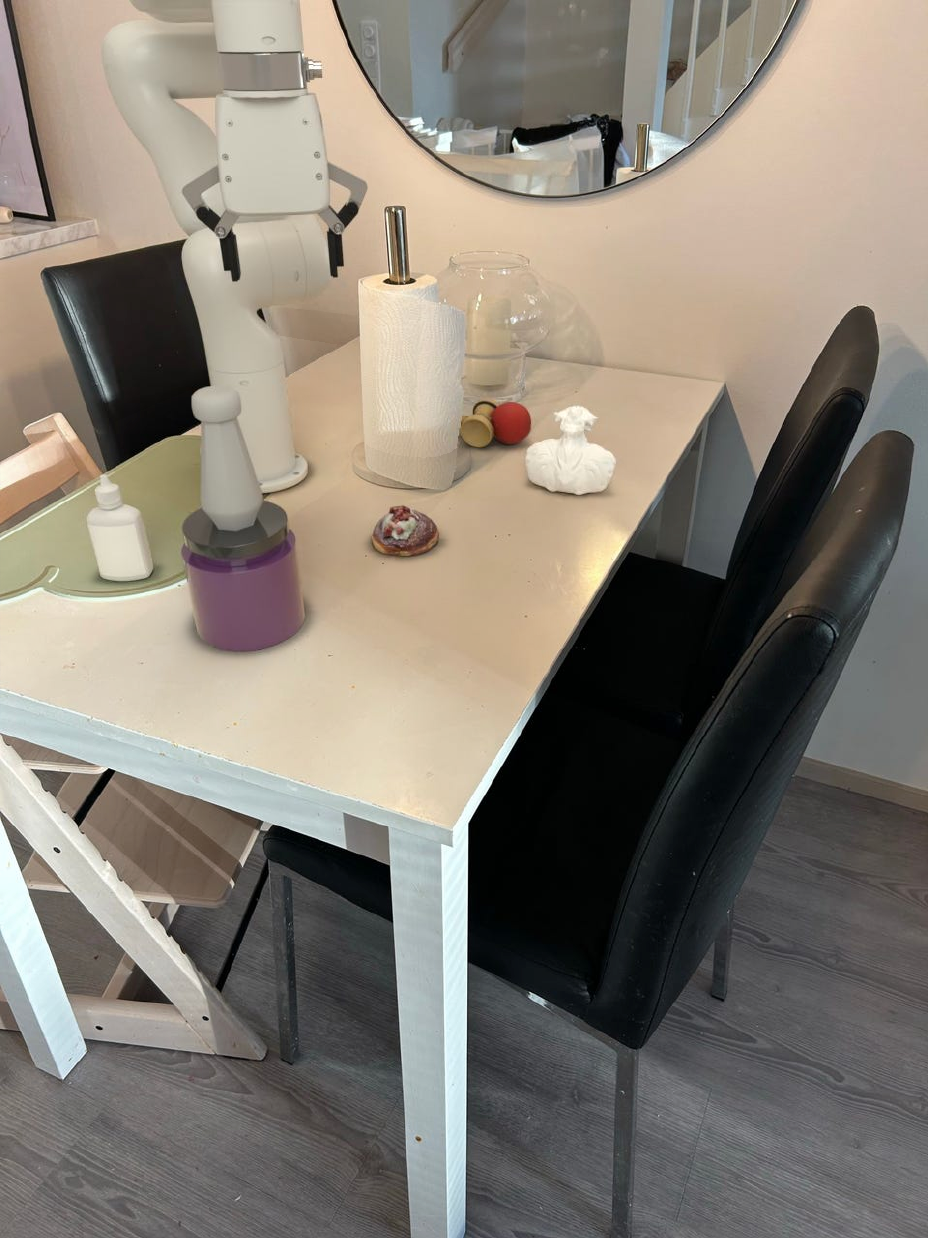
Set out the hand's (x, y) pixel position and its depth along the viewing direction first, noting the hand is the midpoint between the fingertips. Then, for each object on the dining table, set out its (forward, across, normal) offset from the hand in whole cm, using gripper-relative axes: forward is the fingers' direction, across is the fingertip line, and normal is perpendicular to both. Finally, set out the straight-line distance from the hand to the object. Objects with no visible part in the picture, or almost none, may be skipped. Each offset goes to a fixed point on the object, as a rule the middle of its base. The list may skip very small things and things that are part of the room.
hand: (285, 276), depth 90 cm
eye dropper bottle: (+31, +21, +4) cm, 37 cm away
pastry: (+31, -11, +2) cm, 32 cm away
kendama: (+31, -23, -28) cm, 48 cm away
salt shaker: (+19, +7, +16) cm, 26 cm away
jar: (+30, +7, +16) cm, 35 cm away
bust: (+31, -34, -10) cm, 47 cm away
